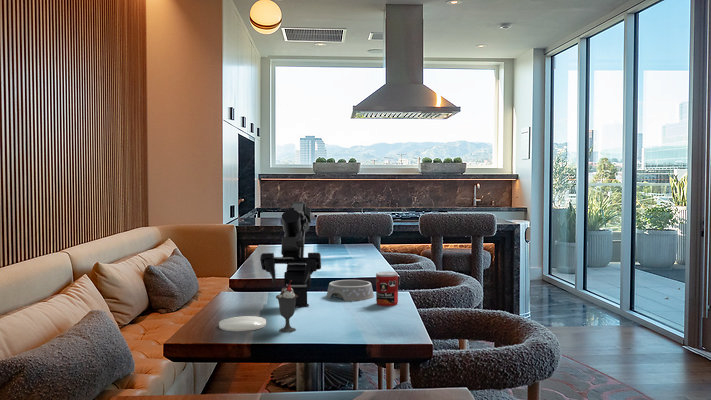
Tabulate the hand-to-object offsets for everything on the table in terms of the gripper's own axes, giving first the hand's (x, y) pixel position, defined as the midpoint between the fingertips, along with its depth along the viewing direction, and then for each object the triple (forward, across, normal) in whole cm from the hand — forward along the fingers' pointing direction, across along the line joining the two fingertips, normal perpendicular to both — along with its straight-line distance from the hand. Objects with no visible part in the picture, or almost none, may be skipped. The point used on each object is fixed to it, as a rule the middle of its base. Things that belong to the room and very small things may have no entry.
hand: (289, 283), depth 175 cm
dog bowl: (-21, +18, +40) cm, 49 cm away
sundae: (+14, 0, +5) cm, 14 cm away
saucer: (+9, -14, +9) cm, 19 cm away
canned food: (-11, +32, +29) cm, 45 cm away
